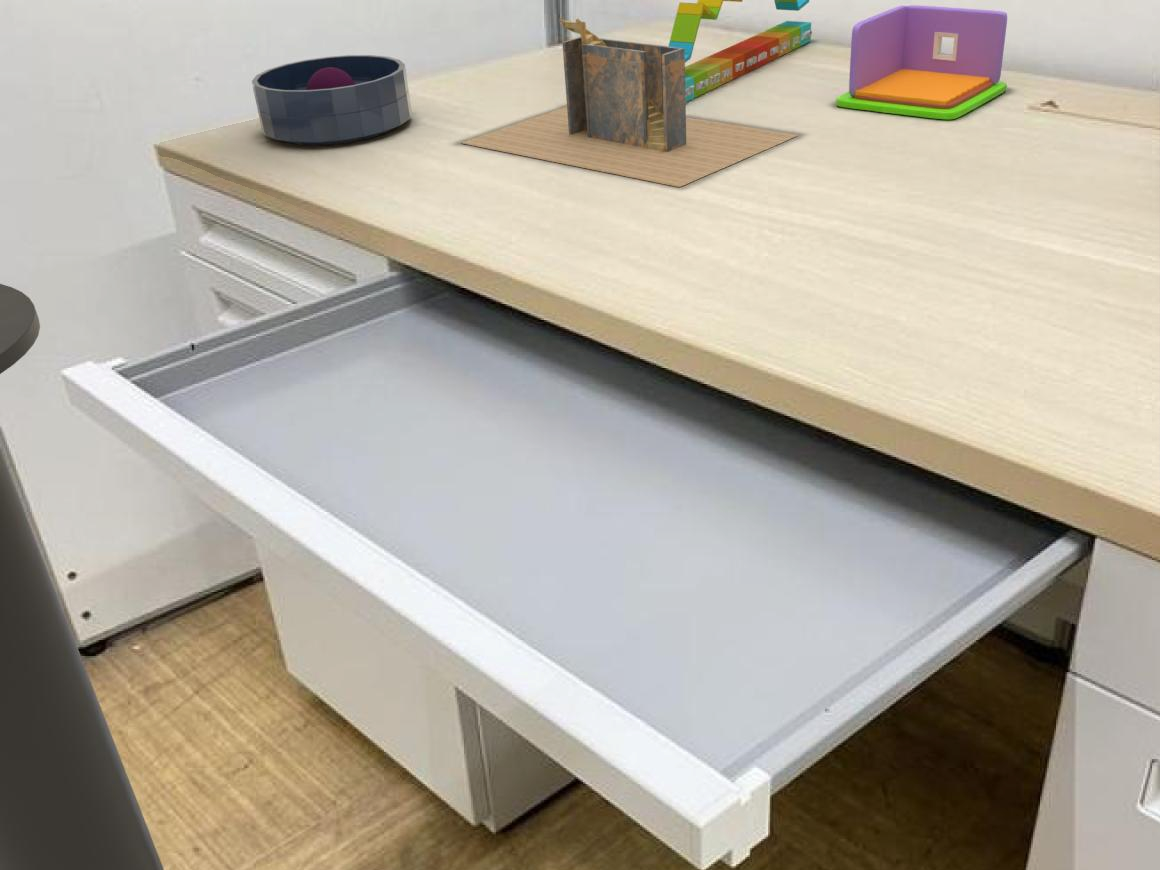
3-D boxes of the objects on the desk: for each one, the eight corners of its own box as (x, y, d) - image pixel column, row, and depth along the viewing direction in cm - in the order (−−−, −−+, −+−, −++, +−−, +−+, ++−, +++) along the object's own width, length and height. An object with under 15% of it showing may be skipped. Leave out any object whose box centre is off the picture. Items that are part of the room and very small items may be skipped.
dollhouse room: (892, 77, 120) (898, 0, 116) (1011, 89, 114) (1021, 8, 110) (830, 106, 113) (834, 25, 109) (953, 121, 106) (962, 36, 102)
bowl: (275, 158, 110) (263, 99, 107) (255, 122, 121) (243, 68, 118) (427, 133, 114) (419, 76, 111) (394, 101, 125) (386, 48, 122)
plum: (316, 131, 115) (306, 76, 112) (308, 119, 118) (297, 66, 116) (367, 123, 116) (358, 69, 113) (357, 112, 120) (348, 59, 117)
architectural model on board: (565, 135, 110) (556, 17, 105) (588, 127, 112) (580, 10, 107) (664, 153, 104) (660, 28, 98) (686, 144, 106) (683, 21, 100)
